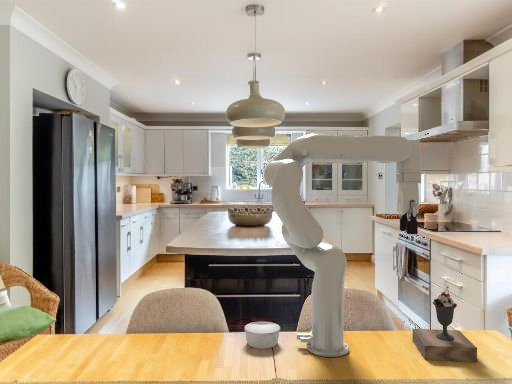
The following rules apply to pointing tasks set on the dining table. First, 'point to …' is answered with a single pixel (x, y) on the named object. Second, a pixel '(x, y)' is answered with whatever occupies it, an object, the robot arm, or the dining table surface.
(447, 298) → the sundae
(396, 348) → the dining table surface
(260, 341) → the ramekin
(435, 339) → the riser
